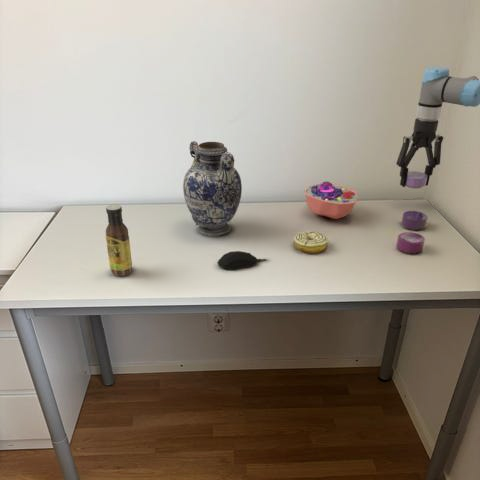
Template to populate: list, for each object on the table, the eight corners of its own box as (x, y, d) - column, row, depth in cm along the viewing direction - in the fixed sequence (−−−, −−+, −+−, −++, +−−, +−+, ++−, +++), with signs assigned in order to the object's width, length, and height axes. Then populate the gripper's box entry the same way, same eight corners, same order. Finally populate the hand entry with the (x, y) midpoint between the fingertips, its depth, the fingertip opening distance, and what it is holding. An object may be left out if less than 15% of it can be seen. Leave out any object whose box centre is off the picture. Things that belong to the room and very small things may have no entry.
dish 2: (415, 242, 164) (417, 231, 161) (427, 254, 157) (429, 242, 155) (391, 244, 162) (393, 233, 160) (402, 256, 156) (405, 244, 154)
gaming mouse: (269, 265, 151) (269, 252, 149) (220, 271, 148) (220, 259, 145) (262, 255, 156) (263, 243, 154) (215, 262, 153) (215, 249, 150)
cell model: (327, 230, 171) (330, 198, 165) (293, 210, 186) (295, 179, 179) (366, 220, 178) (371, 189, 172) (331, 202, 192) (334, 172, 186)
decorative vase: (172, 227, 173) (166, 142, 157) (215, 213, 183) (213, 132, 167) (212, 249, 160) (209, 158, 144) (255, 232, 170) (257, 146, 154)
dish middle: (418, 221, 178) (420, 210, 176) (429, 230, 172) (432, 219, 169) (396, 222, 177) (398, 211, 175) (407, 232, 170) (409, 221, 168)
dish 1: (418, 181, 188) (421, 170, 186) (429, 188, 182) (431, 177, 180) (398, 182, 187) (400, 171, 185) (408, 190, 181) (410, 179, 178)
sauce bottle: (106, 272, 147) (95, 206, 136) (123, 264, 151) (114, 200, 140) (120, 279, 144) (110, 212, 133) (137, 271, 148) (129, 205, 136)
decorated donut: (317, 237, 167) (318, 227, 165) (333, 251, 158) (334, 240, 156) (288, 242, 164) (288, 231, 162) (302, 256, 155) (303, 245, 153)
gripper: (450, 115, 176) (435, 179, 189) (393, 117, 173) (382, 183, 186) (461, 120, 170) (445, 186, 183) (402, 122, 167) (390, 190, 180)
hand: (413, 184), depth 184 cm, fingers closed on dish 1, 8 cm apart
